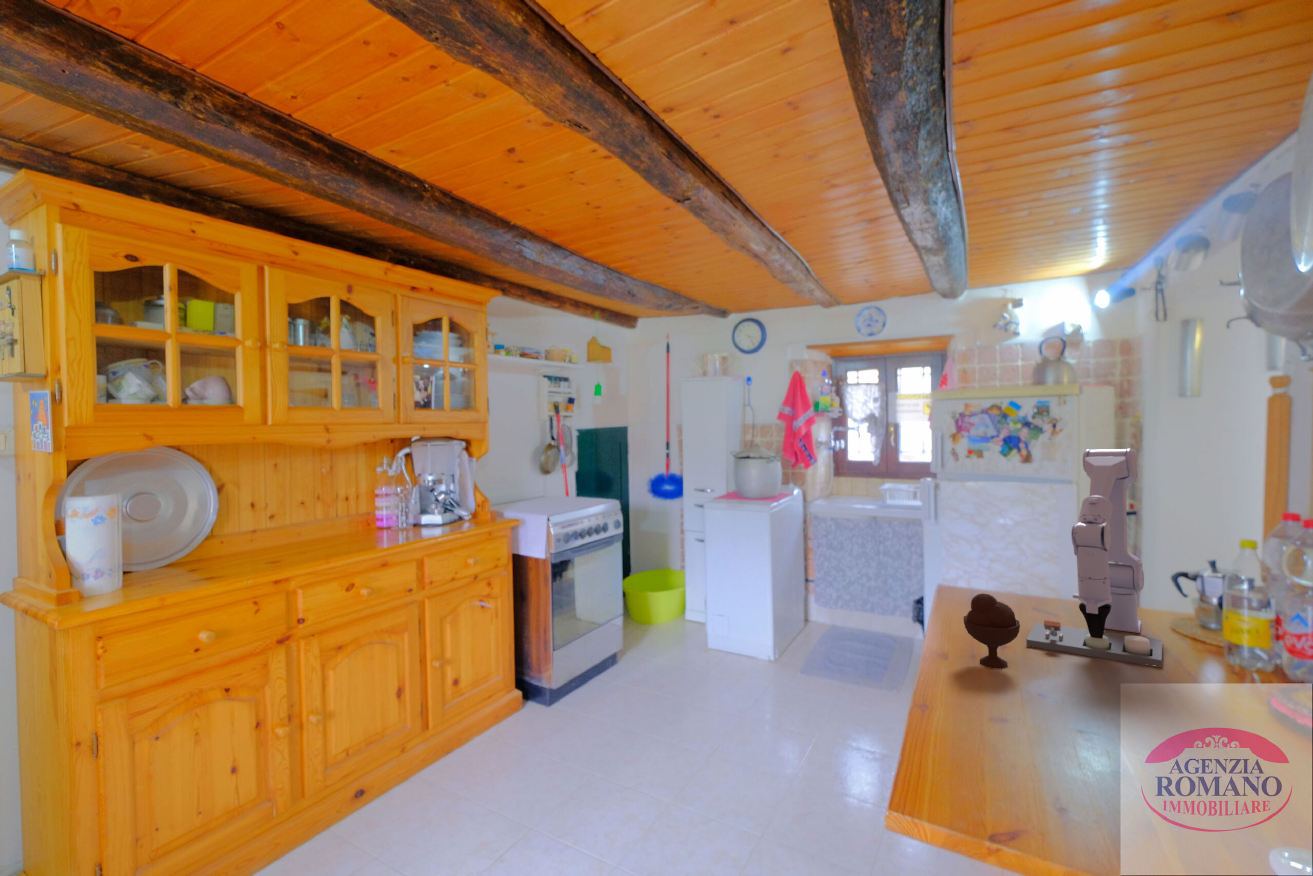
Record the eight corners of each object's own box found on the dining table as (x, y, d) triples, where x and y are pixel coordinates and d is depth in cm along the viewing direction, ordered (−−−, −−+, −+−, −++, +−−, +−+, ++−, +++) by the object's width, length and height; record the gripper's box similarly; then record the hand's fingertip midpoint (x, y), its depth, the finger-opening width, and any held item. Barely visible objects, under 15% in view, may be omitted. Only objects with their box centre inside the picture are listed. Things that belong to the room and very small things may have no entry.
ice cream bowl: (966, 670, 127) (961, 600, 127) (966, 652, 137) (962, 587, 136) (1024, 677, 122) (1019, 604, 122) (1019, 657, 132) (1016, 590, 131)
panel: (1036, 628, 149) (1035, 618, 149) (1162, 646, 133) (1161, 635, 133) (1026, 645, 138) (1026, 635, 138) (1162, 667, 122) (1161, 655, 122)
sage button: (1086, 644, 135) (1086, 632, 135) (1109, 648, 133) (1109, 636, 133) (1084, 650, 132) (1084, 638, 132) (1108, 654, 130) (1107, 641, 130)
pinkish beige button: (1125, 647, 131) (1124, 634, 131) (1150, 650, 128) (1149, 637, 128) (1124, 653, 128) (1123, 640, 128) (1149, 656, 125) (1149, 643, 125)
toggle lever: (1046, 630, 139) (1044, 620, 137) (1061, 632, 137) (1059, 622, 135) (1046, 635, 138) (1043, 625, 136) (1061, 637, 136) (1059, 627, 134)
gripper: (1075, 567, 140) (1078, 624, 141) (1067, 581, 129) (1071, 643, 130) (1112, 571, 136) (1115, 629, 136) (1108, 585, 125) (1111, 649, 125)
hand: (1096, 637), depth 132 cm, fingers closed
